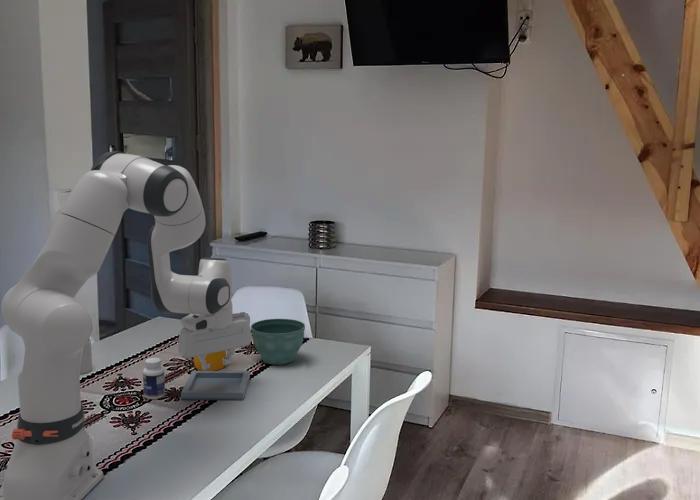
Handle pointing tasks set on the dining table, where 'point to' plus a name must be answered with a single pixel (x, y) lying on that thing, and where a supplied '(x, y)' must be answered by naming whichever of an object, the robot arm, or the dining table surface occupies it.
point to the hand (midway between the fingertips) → (216, 366)
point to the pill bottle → (153, 379)
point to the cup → (86, 358)
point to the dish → (216, 385)
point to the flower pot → (278, 339)
